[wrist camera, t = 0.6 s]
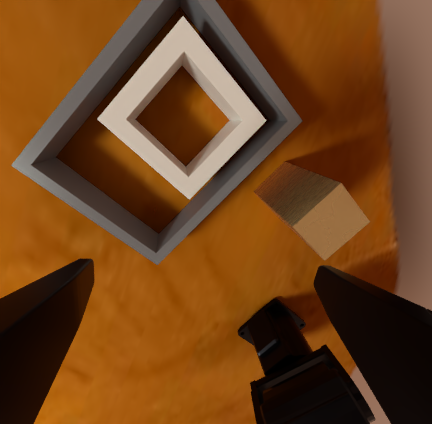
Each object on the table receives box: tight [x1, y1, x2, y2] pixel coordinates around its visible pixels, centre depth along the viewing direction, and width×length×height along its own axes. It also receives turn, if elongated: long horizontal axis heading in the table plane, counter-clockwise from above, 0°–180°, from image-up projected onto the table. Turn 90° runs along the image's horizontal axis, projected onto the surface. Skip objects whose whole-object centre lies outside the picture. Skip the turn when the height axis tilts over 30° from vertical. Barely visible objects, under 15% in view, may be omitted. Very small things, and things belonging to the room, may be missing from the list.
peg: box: [254, 162, 370, 261], centre depth 19 cm, size 4×4×8 cm
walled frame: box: [11, 0, 302, 265], centre depth 17 cm, size 12×16×4 cm
